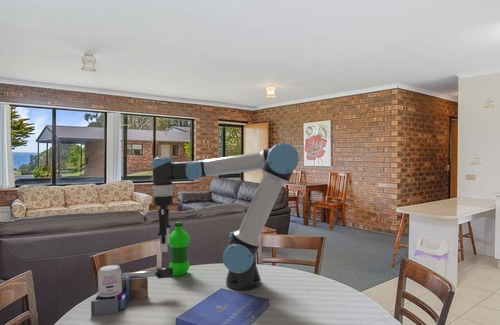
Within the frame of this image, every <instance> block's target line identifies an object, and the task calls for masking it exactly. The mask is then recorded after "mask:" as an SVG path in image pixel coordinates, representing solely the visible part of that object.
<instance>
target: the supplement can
mask: <svg viewBox="0 0 500 325" xmlns="http://www.w3.org/2000/svg"><path fill="white" fill-rule="evenodd" d="M122 273H123V272H122V269H121V267H120V265H118V264H109V265H108V264H107V265H104V266H101V267H99V270H98V271H97V292H98V300H102V299H113V298H118V309H120V298H121V296H122Z"/></svg>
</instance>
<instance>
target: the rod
mask: <svg viewBox="0 0 500 325" xmlns="http://www.w3.org/2000/svg"><path fill="white" fill-rule="evenodd" d="M121 273H122V279H126V291H124V292H123V294H122V296H121V298H120V307H119V310H124V309H125V308H126V305H127V303H128V301H129V300H131V299H130V281H129V279H135V278H157V279H158V280H160V279H171V278H174V274H173V267H171V268H169V267H158V268H157V270H149V271H148V270H147V271H134V272H133V271H132V272H131V271H130V272H121Z"/></svg>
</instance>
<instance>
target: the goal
mask: <svg viewBox="0 0 500 325" xmlns="http://www.w3.org/2000/svg"><path fill="white" fill-rule="evenodd" d="M123 292H124V287H122V294H123ZM90 313H91V316H99V315H100V316H101V315H110V314H118V313H119V308H118V298H113V299H102V300H98V291H97V292H96V293H95V295H94V297H93V298H92V299H91V301H90Z"/></svg>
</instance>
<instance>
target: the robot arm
mask: <svg viewBox="0 0 500 325" xmlns="http://www.w3.org/2000/svg"><path fill="white" fill-rule="evenodd" d="M299 159H300V157H299V152H298V150H297V149H296V148H295V147H294V145H291V143H287V142H279V143H275V144H274V145H272V146H271V147H270V148H266V149H265V148H264V149H262V150H261V151H259V152H254V153H253V152H251V153H245V154H238V155H230V156H223V157H216V158H210V159H209V158H206V159H201V160H200V159H199V160H190V161H189V160H188V161H172V158H171V157H154V158H153V159H152V167H151V168H152V185H153V186H152V188H151V190H152V191H153V195H154V197H153V205H154V206H156V207H160V208H159V210H158V211H157V212H158V221H159V224H158V225H159V228H158V229H159V230H158V231H159V232H158V233H157V236H158V237H159V248H160V249H159V250H160V251H159V252H160V253H167V252H169V250H168V244H169V243H170V242H169V235H170V228H171V224H170V222H169V217H170V209H169V206H171V205H173V204H174V199H173V198H174V197H173V194H174V191H173V188H174V187H173V181H195V180H200V179H201V178H205V177H214V176H222V175H231V174H237V173H246V172H253V171H254V172H255V171H260V170H261V172H262V178H261V179H260V181H259V184H258V186H257V188H256V190H255V193H254V195H253V198H252V199H251V202H250V204H249V206H248V209H247V211H246V213H245V215H244V217H243V219H242V221H241V224H240V226H239V228H238V230H237V229H236V230H235V231H230V232H229V237H228V239H229V242H228V243H227V246H226V248H225V249H224V250H223V253H222V255H223V256H222V261H223V264H224V266H225V267H226V269H227V270H228V273H227V275H226V280H225V281H226V282H225V285H226V286H227V287H228V288H230V289H231V290H237V291H238V290H239V291H246V290H247V291H248V290H253V289H256V288H258V287H260V286H261V283H262V281H261V280H262V278H261V275H260V273H259V270H258V267H257V252H258V250H259V248H260V246H261V243H260V240H259V239H260V237H261V234H262V232H263V230H264V227H265V225H266V223H267V221H268V220H269V219H268V218H269V217H270V214H271V212H272V210H273V207H274V206H275V203H276V201H277V198H278V197H279V194H280V193H281V190H282V188H283V185H285V184H286V183H289V181H290V179H291V177H292V176H293V174H294V171H295V169H296V168H297V167H298V164H299V161H300V160H299Z"/></svg>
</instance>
